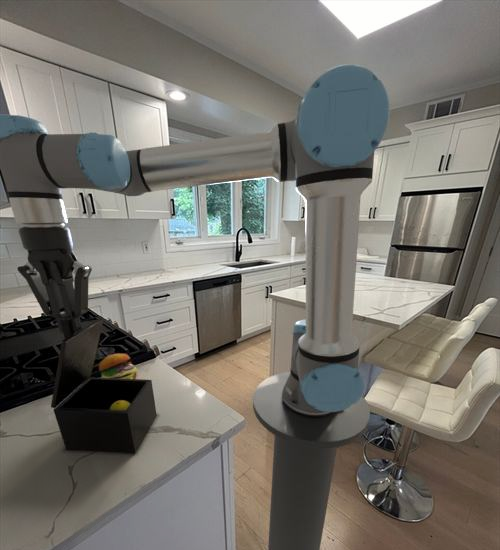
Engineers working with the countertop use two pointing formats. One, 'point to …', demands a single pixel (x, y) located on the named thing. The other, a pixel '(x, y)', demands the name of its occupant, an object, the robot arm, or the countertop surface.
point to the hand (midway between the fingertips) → (75, 346)
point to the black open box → (106, 415)
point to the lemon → (120, 405)
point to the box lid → (76, 361)
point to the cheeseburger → (117, 367)
